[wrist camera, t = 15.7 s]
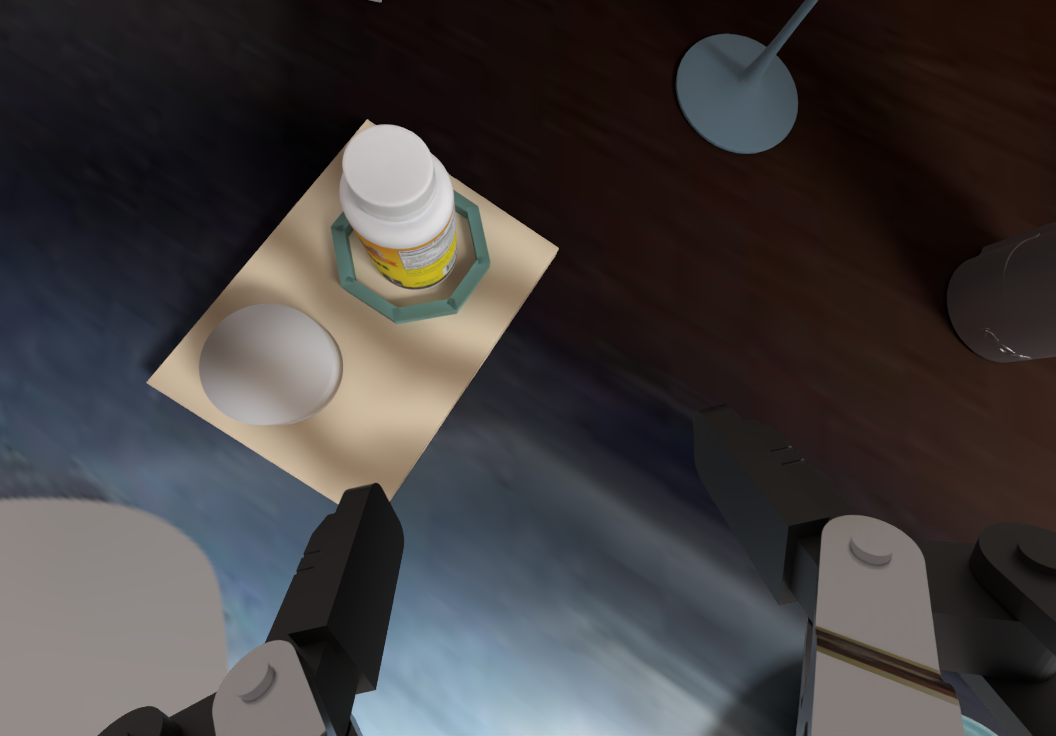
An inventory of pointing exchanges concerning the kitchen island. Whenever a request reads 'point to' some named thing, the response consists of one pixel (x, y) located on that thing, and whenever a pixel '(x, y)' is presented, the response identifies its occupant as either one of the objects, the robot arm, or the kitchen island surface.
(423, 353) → the carrier board
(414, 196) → the supplement bottle
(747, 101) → the cocktail glass
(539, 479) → the kitchen island surface
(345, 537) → the robot arm
